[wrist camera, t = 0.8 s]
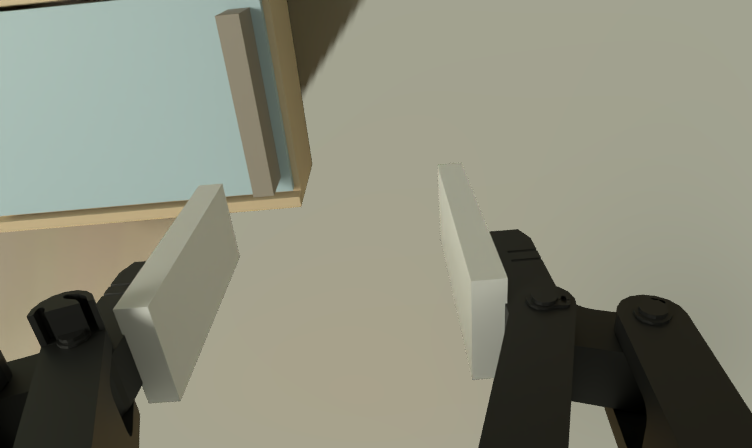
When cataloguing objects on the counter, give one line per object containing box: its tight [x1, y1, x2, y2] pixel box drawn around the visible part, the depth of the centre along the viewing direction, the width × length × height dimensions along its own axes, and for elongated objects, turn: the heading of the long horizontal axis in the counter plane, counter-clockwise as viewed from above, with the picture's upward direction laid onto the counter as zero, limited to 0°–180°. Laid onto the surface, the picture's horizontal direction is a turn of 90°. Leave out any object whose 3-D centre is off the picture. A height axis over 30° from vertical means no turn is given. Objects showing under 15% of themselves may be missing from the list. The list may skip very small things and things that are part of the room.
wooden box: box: [0, 0, 312, 232], centre depth 35 cm, size 14×20×7 cm
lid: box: [0, 0, 294, 216], centre depth 31 cm, size 12×19×3 cm, turn 95°
